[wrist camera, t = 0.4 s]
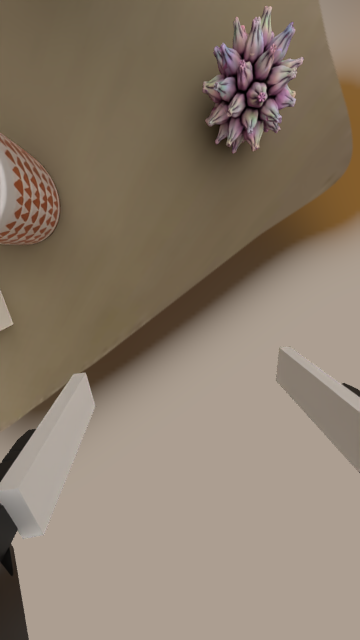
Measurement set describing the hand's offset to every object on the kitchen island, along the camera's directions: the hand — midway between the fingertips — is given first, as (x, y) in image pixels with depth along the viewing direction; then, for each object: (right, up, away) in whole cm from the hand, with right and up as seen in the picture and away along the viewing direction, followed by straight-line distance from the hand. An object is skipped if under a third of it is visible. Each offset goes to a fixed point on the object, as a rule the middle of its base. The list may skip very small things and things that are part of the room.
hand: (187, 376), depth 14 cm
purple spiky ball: (+8, +35, +18) cm, 40 cm away
